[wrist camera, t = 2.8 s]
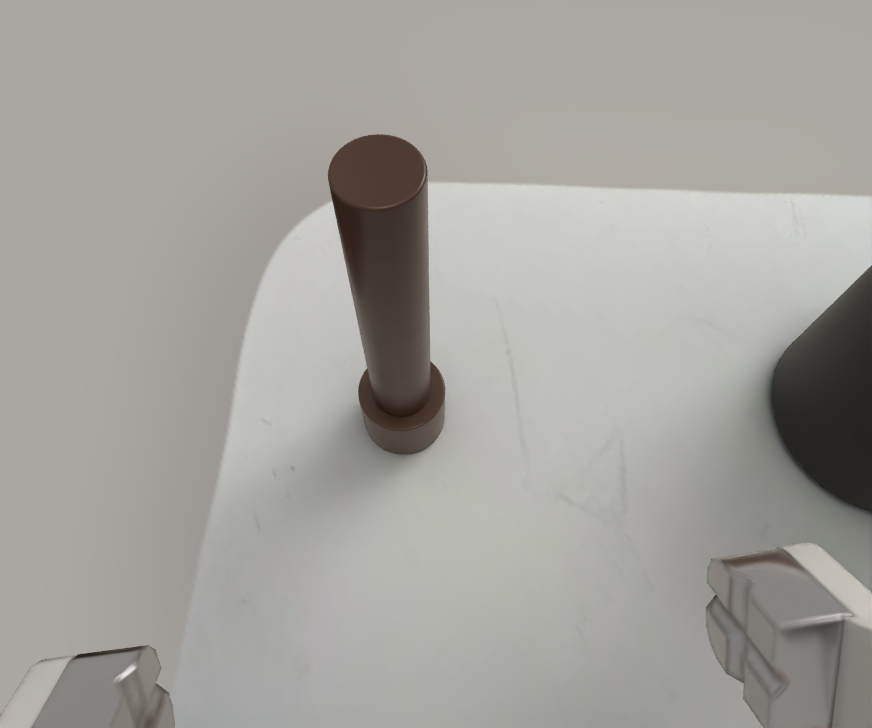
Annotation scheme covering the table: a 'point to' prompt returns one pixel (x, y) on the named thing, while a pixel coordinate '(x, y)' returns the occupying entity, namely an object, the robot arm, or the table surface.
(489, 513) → the table surface
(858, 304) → the mug
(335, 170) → the rod
